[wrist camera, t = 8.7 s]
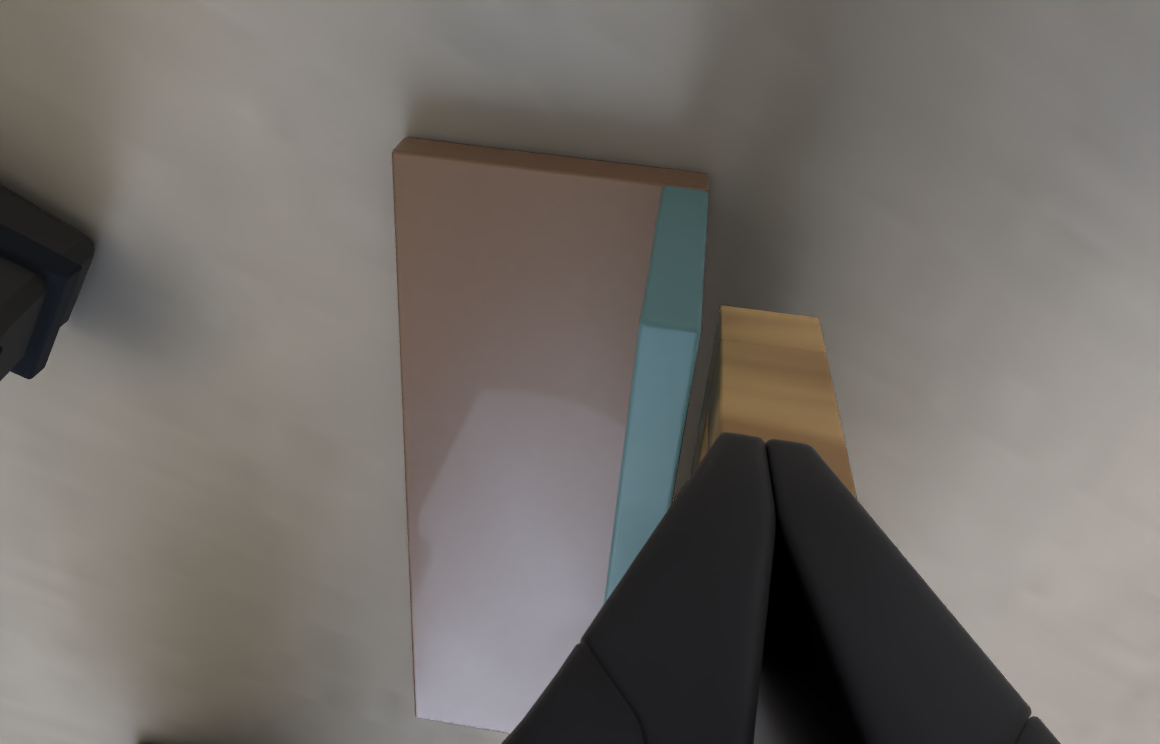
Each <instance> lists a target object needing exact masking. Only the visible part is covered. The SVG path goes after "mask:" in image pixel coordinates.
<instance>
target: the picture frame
mask: <svg viewBox="0 0 1160 744" xmlns="http://www.w3.org/2000/svg"><path fill="white" fill-rule="evenodd" d="M723 432H731V433H737V434H744V435H751V436H758V437H760V438H762V439H763V440H764V442H765V443H766V442H767V441H768V440H770V439H779V440H786V441H793V442H800V443H806V444H809V445H811V446H812V447H813V448H814V449H815V450H816V451H817V453H818V454H819V455H820V456H821V457H822V459H823V460H824V461H825V462H826V463H827V465H828V466H829V467H830V468H831V469H832V471H833V472H834V473H835V474H836V475H837V477H838V478H839V479H840V480H841V481H842V483H843V484H844V485H845V486H846V487H847V489H848V490H849V491H850V492H851V493H852V495H853V496H854V497H855V498H856V499H857V496H856V491H855V486H854V482H853V477H852V472H851V468H850V463H849V458H848V454H847V449H846V444H845V439H844V435H843V430H842V425H841V421H840V416H839V411H838V407H837V402H836V397H835V392H834V388H833V383H832V378H831V374H830V369H829V364H828V360H827V355H826V349H825V344H824V340H823V335H822V330H821V326H820V321H819V318H815V317H808V316H800V315H792V314H785V313H777V312H769V311H762V310H754V309H746V308H739V307H731V306H724V305H722V306H720V309H719V315H718V321H717V327H716V332H715V338H714V344H713V349H712V355H711V361H710V366H709V372H708V378H707V383H706V389H705V395H704V401H703V406H702V412H701V418H700V423H699V429H698V435H697V440H696V446H695V452H694V458H693V463H692V469H691V475H692V474H693V472H694V471H695V469H696V468H697V466H698V465H699V463H700V462H701V460H702V459H703V458H704V456H705V455H706V453H707V452H708V450H709V449H710V447H711V446H712V444H713V443H714V441H715V440H716V438H717V437H718V436H719V435H720V434H721V433H723ZM691 475H690V477H691Z"/></svg>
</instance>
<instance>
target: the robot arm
mask: <svg viewBox="0 0 1160 744" xmlns="http://www.w3.org/2000/svg"><path fill="white" fill-rule="evenodd" d="M1030 715H1031V709H1030V707H1029V706H1028V705H1027V703H1026V702H1025V701H1024V700H1023V699H1022V697H1021V696H1020V695H1019V694H1018V693H1017V691H1016V690H1015V689H1014V688H1013V687H1012V685H1011V684H1010V683H1009V682H1008V681H1007V679H1006V678H1005V677H1004V676H1003V675H1002V673H1001V672H1000V671H999V670H998V669H997V667H996V666H995V665H994V664H993V663H992V661H991V660H990V659H989V658H988V657H987V655H986V654H985V653H984V652H983V651H982V649H981V648H980V647H979V646H978V645H977V643H976V642H975V641H974V640H973V639H972V637H971V636H970V635H969V634H968V633H967V631H966V630H965V629H964V628H963V627H962V625H961V624H960V623H959V622H958V621H957V619H956V618H955V617H954V616H953V615H952V613H951V612H950V611H949V610H948V609H947V607H946V606H945V605H944V604H943V603H942V601H941V600H940V599H939V598H938V597H937V595H936V594H935V593H934V592H933V591H932V589H931V588H930V587H929V586H928V585H927V583H926V582H925V581H924V580H923V579H922V577H921V576H920V575H919V574H918V573H917V571H916V570H915V569H914V568H913V567H912V565H911V564H910V563H909V562H908V561H907V559H906V558H905V557H904V556H903V555H902V553H901V552H900V551H899V550H898V549H897V547H896V546H895V545H894V544H893V543H892V541H891V540H890V539H889V538H888V537H887V535H886V534H885V533H884V532H883V531H882V529H881V528H880V527H879V526H878V525H877V523H876V522H875V521H874V520H873V519H872V517H871V516H870V515H869V514H868V513H867V511H866V510H865V509H864V508H863V507H862V505H861V504H860V503H859V502H858V501H857V499H856V498H855V497H854V496H853V495H852V493H851V492H850V491H849V490H848V489H847V487H846V486H845V485H844V484H843V483H842V481H841V480H840V479H839V478H838V477H837V475H836V474H835V473H834V472H833V471H832V469H831V468H830V467H829V466H828V465H827V463H826V462H825V461H824V460H823V459H822V457H821V456H820V455H819V454H818V453H817V451H816V450H815V449H814V448H813V447H812V446H811V445H809V444H806V443H800V442H793V441H786V440H779V439H770V440H768V441H767V442H766V443H765V442H764V440H763V439H762V438H760V437H758V436H751V435H744V434H737V433H731V432H723V433H721V434H720V435H719V436H718V437H717V438H716V440H715V441H714V443H713V444H712V446H711V447H710V449H709V450H708V452H707V453H706V455H705V456H704V458H703V459H702V460H701V462H700V463H699V465H698V466H697V468H696V469H695V471H694V472H693V474H692V475H691V477H690V478H689V480H688V481H687V483H686V484H685V486H684V487H683V489H682V490H681V491H680V493H679V494H678V496H677V497H676V499H675V500H674V502H673V503H672V505H671V506H670V508H669V509H668V511H667V512H666V514H665V515H664V517H663V518H662V520H661V521H660V522H659V524H658V525H657V527H656V528H655V530H654V531H653V533H652V534H651V536H650V537H649V539H648V540H647V542H646V543H645V545H644V546H643V548H642V549H641V551H640V552H639V553H638V555H637V556H636V558H635V559H634V561H633V562H632V564H631V565H630V567H629V568H628V570H627V571H626V573H625V574H624V576H623V577H622V579H621V580H620V582H619V583H618V584H617V586H616V587H615V589H614V590H613V592H612V593H611V595H610V596H609V598H608V599H607V601H606V602H605V604H604V605H603V607H602V608H601V610H600V611H599V613H598V614H597V615H596V617H595V618H594V620H593V621H592V623H591V624H590V626H589V627H588V629H587V630H586V632H585V633H584V635H583V636H582V638H581V640H580V643H579V644H577V645H576V646H575V647H574V649H573V650H572V651H571V653H570V654H569V656H568V657H567V659H566V660H565V662H564V663H563V665H562V666H561V668H560V669H559V671H558V672H557V674H556V675H555V676H554V678H553V679H552V680H551V682H550V683H549V684H548V686H547V687H546V688H545V690H544V691H543V692H542V694H541V695H540V697H539V698H538V699H537V701H536V702H535V703H534V705H533V706H532V707H531V709H530V710H529V711H528V713H527V714H526V715H525V717H524V718H523V719H522V721H521V722H520V723H519V724H518V725H517V726H516V727H515V729H514V730H513V731H512V732H511V733H510V734H509V736H508V737H507V738H506V739H505V740H504V741H503V743H502V744H1060V743H1059V741H1058V740H1057V739H1056V738H1055V737H1054V735H1053V734H1052V733H1051V732H1050V731H1049V729H1048V728H1047V727H1046V726H1045V725H1044V723H1043V722H1042V721H1041V720H1040V719H1039V718H1038V717H1034V716H1033V717H1030ZM1029 717H1030V718H1029Z"/></svg>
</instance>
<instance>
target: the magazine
mask: <svg viewBox="0 0 1160 744" xmlns="http://www.w3.org/2000/svg"><path fill="white" fill-rule="evenodd" d="M93 254H94V244H93V242H92V241H91V240H90V239H89V238H88V237H86V236H84V235H83V234H81V233H79V232H78V231H76V230H74V229H73V228H71V227H69V226H67V225H66V224H64V223H62V222H61V221H59V220H57V219H56V218H54V217H52V216H51V215H49V214H47V213H46V212H44V211H42V210H41V209H39V208H37V207H36V206H34V205H32V204H31V203H29V202H27V201H26V200H24V199H22V198H21V197H19V196H17V195H16V194H14V193H12V192H11V191H9V190H7V189H5V188H4V187H2V186H0V381H1V380H2V379H3V378H4V377H5V376H6V375H7V374H8V373H9V371H11V372H13V373H15V374H18V375H20V376H22V377H24V378H27V379H31V378H33V377H34V376H35V375H36V374H38V373H39V372H40V371H41V370H42V369H43V368H44V367H45V365H46V362H47V360H48V357H49V354H50V352H51V349H52V347H53V344H54V341H55V339H56V336H57V333H58V331H59V328H60V327H61V326H62V325H63V324H64V323H65V322H67V321H68V319H69V317H70V314H71V311H72V309H73V306H74V304H75V301H76V298H77V296H78V293H79V291H80V288H81V285H82V283H83V280H84V278H85V275H86V272H87V270H88V267H89V265H90V262H91V259H92V257H93Z"/></svg>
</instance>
